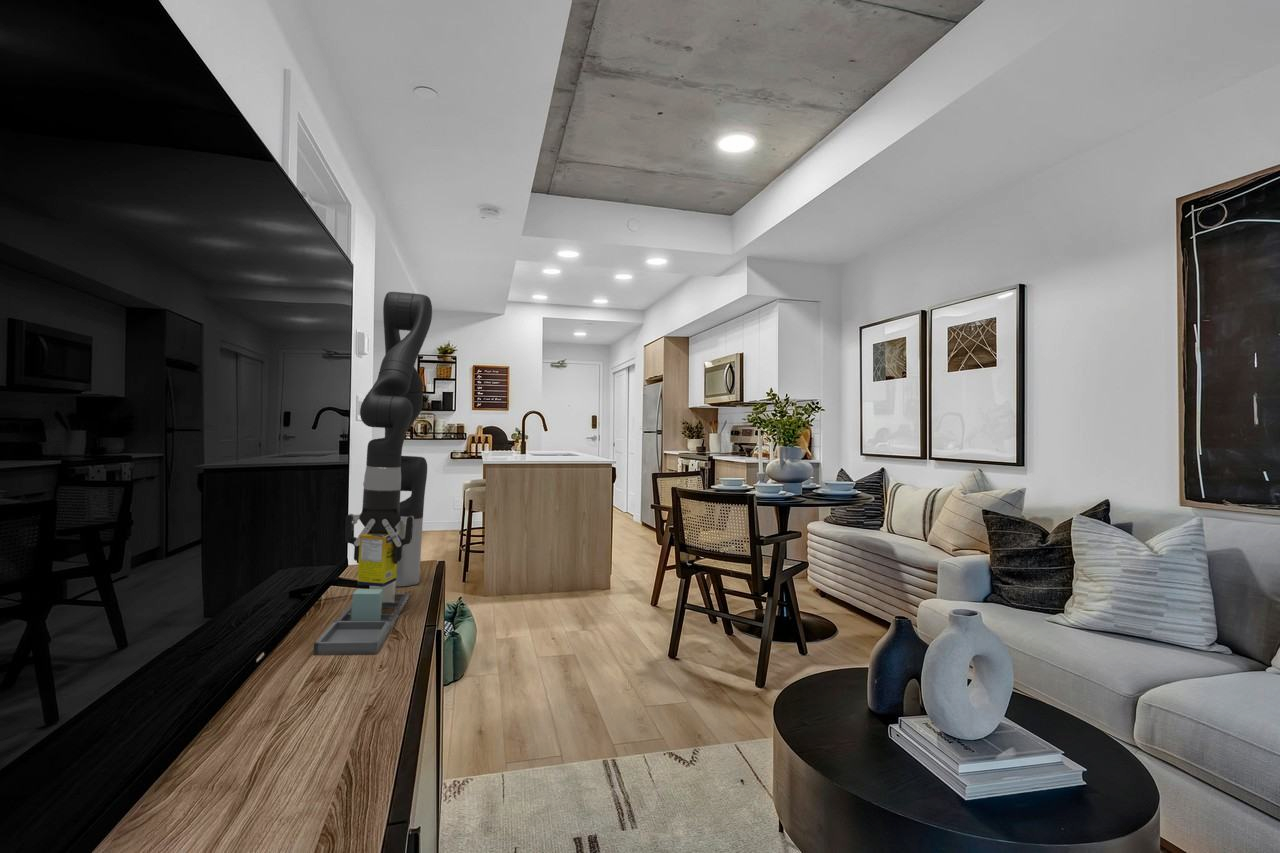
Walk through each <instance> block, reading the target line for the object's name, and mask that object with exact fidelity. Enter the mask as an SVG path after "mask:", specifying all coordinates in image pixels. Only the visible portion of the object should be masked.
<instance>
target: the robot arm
mask: <svg viewBox="0 0 1280 853" xmlns="http://www.w3.org/2000/svg"><path fill="white" fill-rule="evenodd" d="M382 309H383V310H382V313H383V315H382V316H383V333H384V348H385V354H384V357H383V359H382V361H381V365H380V368H379V371H378V375H377V379H376V381H375V382H374V384H373V386H372V387H371V389H370V390H369V391H368V393H367V394H366V395H365V396H364V398H363V400H362V402H361V405H360V408H359V416H360V419H361V421H362V423H363V424H364V425H365V426H367V427H370V428H378V429H379V428H380V429H384V437H382V438H380V437H379V438H373V439H370V440H369V441H368V444H367V446H366V447H367V450H366V464H365V465H366V466H365V473H364V478H363V483H362V484H363V490H362V491H363V494H362V510H361V513H360V514H353V513H349V514H347V515H346V516H345V528H344V529H345V534H344V536H345V541H344V542H345V543H346V544H351V545H353V546H354V551H353V560H354V561H356V564H358V563H359V545H360V535H361V534H363V535H367V534H368V532H369V533H371V534H378V533H380V534H389V535H390V537H391V538H392V539H393V541H394V543H395V545H396V546H395V550H394V564H397V571H396V586H395V587H409V586H415V585H417V584H419V583H420V570H421V569H420V568H421V557H422V556H421V555H422V540H423V538H422V537H423V523H424V522H423V520H424V509H425V508H424V507H425V506H424V505H425V495H426V494H425V493H426V487H427V486H426V485H427V477H428V463H427V460H426V457H423V456H413V455H402V452H403V446H404V441H405V438H406V434H407V432H408V431H409V429H410V428H411V427H412V425H413V424H414V423H415V421H416V420H417V419H418V417H419V416H420V414H421V412H422V409H423V405H424V404H423V403H424V402H423V400H424V383H423V380H422V378H421V375H420V374H419V372H418V370H417V368H416V367H415V365H416V362H417V358H418V356H419V353H420V351H421V349H422V347H423V345H424V343H425V339H426V338H427V334H428V332H429V330H430V326H431V322H432V318H433V306H432V301H431V299H430V297H429V296H428V295H425V294H422V293H413V292H412V293H411V292H402V291H388V292H387V293H386V294H385V297H384V300H383V308H382ZM400 331H409V333H407V334H406V336H405V337H404V338H402V339H401V336H400V335H401V334H400ZM401 492H410V493H411V494H410V496H409V497H407V498H405V499H404V500H402V501H401ZM358 521H360V523H361V524H362V525H363V527H364V528H363V529H362V530H361V532H360V533H359V535H358V536H357V537H355V525H357V523H358Z"/></svg>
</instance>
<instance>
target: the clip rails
mask: <svg viewBox="0 0 1280 853" xmlns="http://www.w3.org/2000/svg"><path fill="white" fill-rule="evenodd" d="M409 594H410V592H404V593H395V599H401V600H399V602H397V601H396V602H395V601H394V602H382V609H393V612H392V613H384V614H383V613H381V621H390V631H392V629H393V627H394V625H395V623H396V622H397V620H398V618H399V616H400V615H399V614H401V613H400V612H402V611H403V609H404V608H405V606H406V604H407V602H408V601H407V600H409V596H410V595H409ZM404 605H405V606H404ZM403 607H404V608H403ZM351 613H352V602H351V603H350V604H349V605H348V606H347V608H346V609H345V610H343V612H342V613H341V614H340V616H338V618H337V619H336V620H335V621H351ZM395 621H396V622H395Z"/></svg>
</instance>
